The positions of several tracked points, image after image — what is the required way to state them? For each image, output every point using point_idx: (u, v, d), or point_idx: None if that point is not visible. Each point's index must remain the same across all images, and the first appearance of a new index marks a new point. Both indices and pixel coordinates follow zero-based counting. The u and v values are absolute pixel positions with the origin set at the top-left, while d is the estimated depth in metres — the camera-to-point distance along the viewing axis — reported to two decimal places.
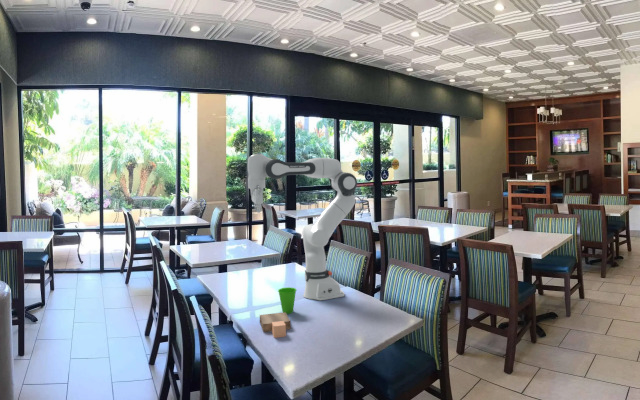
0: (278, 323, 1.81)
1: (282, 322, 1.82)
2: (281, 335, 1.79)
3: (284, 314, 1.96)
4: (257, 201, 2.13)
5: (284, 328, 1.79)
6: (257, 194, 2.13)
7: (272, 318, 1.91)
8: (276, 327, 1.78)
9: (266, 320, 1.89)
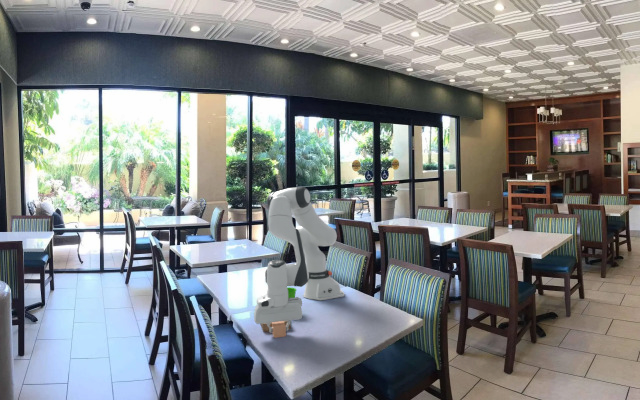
0: (278, 323, 1.81)
1: (282, 322, 1.82)
2: (281, 335, 1.79)
3: None
4: None
5: (284, 328, 1.79)
6: (300, 307, 1.82)
7: None
8: (276, 326, 1.78)
9: None
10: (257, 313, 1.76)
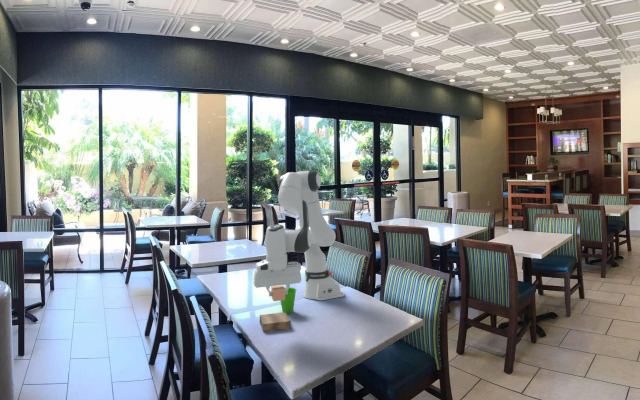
0: (277, 287, 1.83)
1: (281, 286, 1.84)
2: (281, 299, 1.81)
3: (284, 314, 1.96)
4: None
5: (283, 291, 1.81)
6: (299, 271, 1.84)
7: (272, 318, 1.91)
8: (276, 290, 1.80)
9: (266, 320, 1.89)
10: (256, 277, 1.77)
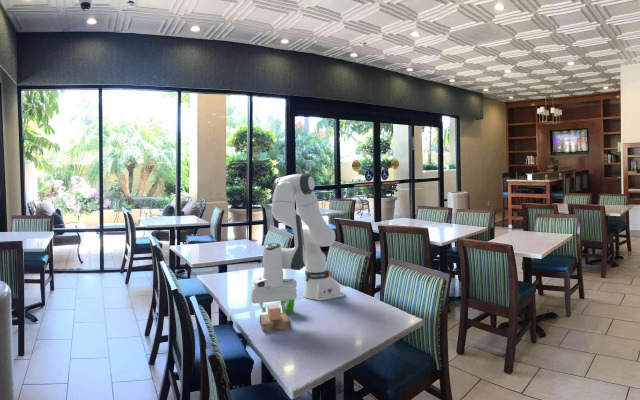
0: (273, 307, 1.91)
1: (277, 306, 1.92)
2: (277, 318, 1.89)
3: (284, 314, 1.96)
4: None
5: (279, 311, 1.89)
6: (295, 288, 1.92)
7: None
8: (272, 310, 1.88)
9: (266, 320, 1.89)
10: (254, 293, 1.86)
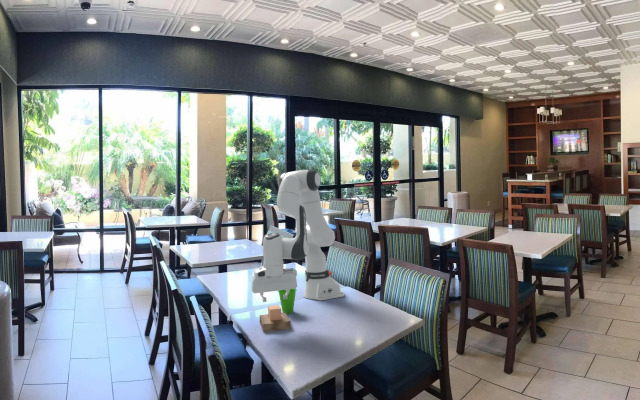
0: (274, 307, 1.91)
1: (278, 306, 1.92)
2: (277, 318, 1.89)
3: (284, 314, 1.96)
4: (296, 285, 1.92)
5: (280, 311, 1.89)
6: (295, 277, 1.92)
7: None
8: (272, 310, 1.88)
9: (266, 320, 1.89)
10: (254, 283, 1.86)
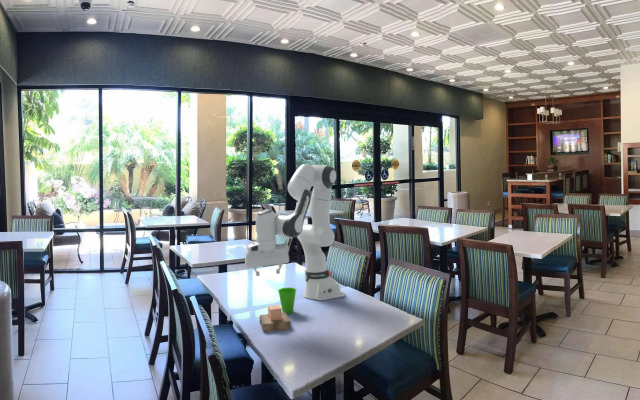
0: (274, 307, 1.91)
1: (278, 306, 1.92)
2: (278, 318, 1.89)
3: (284, 314, 1.96)
4: None
5: (280, 311, 1.89)
6: (287, 252, 1.99)
7: None
8: (273, 310, 1.88)
9: (266, 320, 1.89)
10: (247, 257, 1.92)
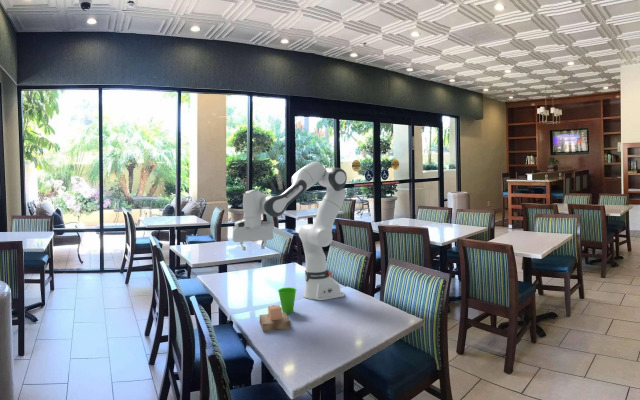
0: (274, 307, 1.91)
1: (278, 306, 1.92)
2: (278, 318, 1.89)
3: (283, 314, 1.96)
4: None
5: (280, 311, 1.89)
6: None
7: None
8: (273, 310, 1.88)
9: (266, 320, 1.89)
10: (235, 232, 2.09)
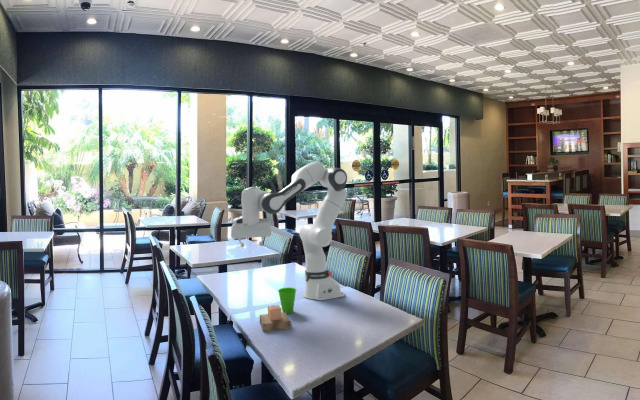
0: (274, 307, 1.91)
1: (277, 306, 1.92)
2: (277, 318, 1.89)
3: (283, 314, 1.96)
4: None
5: (280, 311, 1.89)
6: None
7: None
8: (272, 310, 1.88)
9: (266, 320, 1.89)
10: (233, 229, 2.12)
